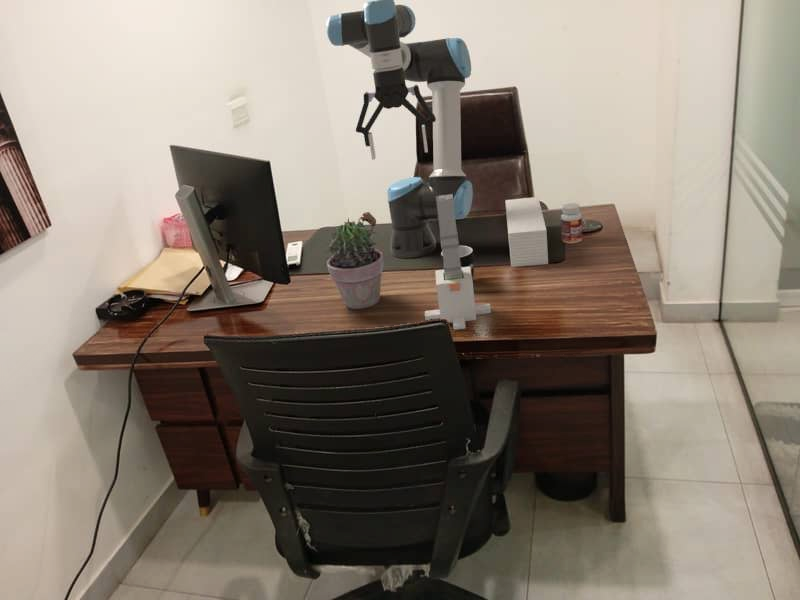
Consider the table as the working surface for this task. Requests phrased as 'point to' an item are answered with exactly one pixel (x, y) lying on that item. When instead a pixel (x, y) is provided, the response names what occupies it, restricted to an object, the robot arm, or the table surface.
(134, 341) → the table surface
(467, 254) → the mug
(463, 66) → the robot arm
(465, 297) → the housing
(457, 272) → the post
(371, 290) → the potted plant
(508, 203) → the stack of papers
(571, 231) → the pill bottle
